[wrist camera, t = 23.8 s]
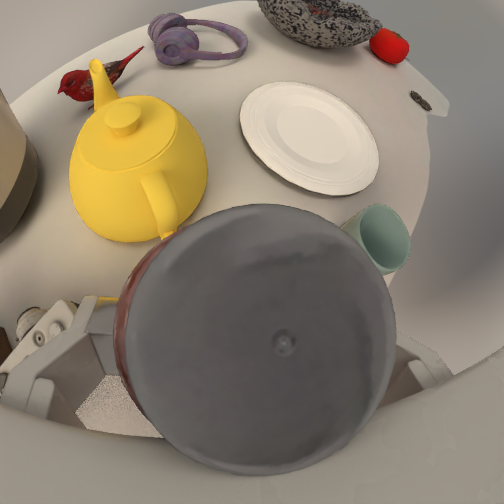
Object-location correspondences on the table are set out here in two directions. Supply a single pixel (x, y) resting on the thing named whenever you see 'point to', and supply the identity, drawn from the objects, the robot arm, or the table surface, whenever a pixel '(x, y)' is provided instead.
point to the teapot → (135, 165)
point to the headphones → (188, 39)
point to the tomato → (389, 46)
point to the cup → (381, 236)
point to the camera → (37, 332)
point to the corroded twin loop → (420, 100)
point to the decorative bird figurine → (81, 81)
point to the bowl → (321, 21)
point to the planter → (14, 169)
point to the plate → (309, 138)
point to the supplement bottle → (256, 339)
